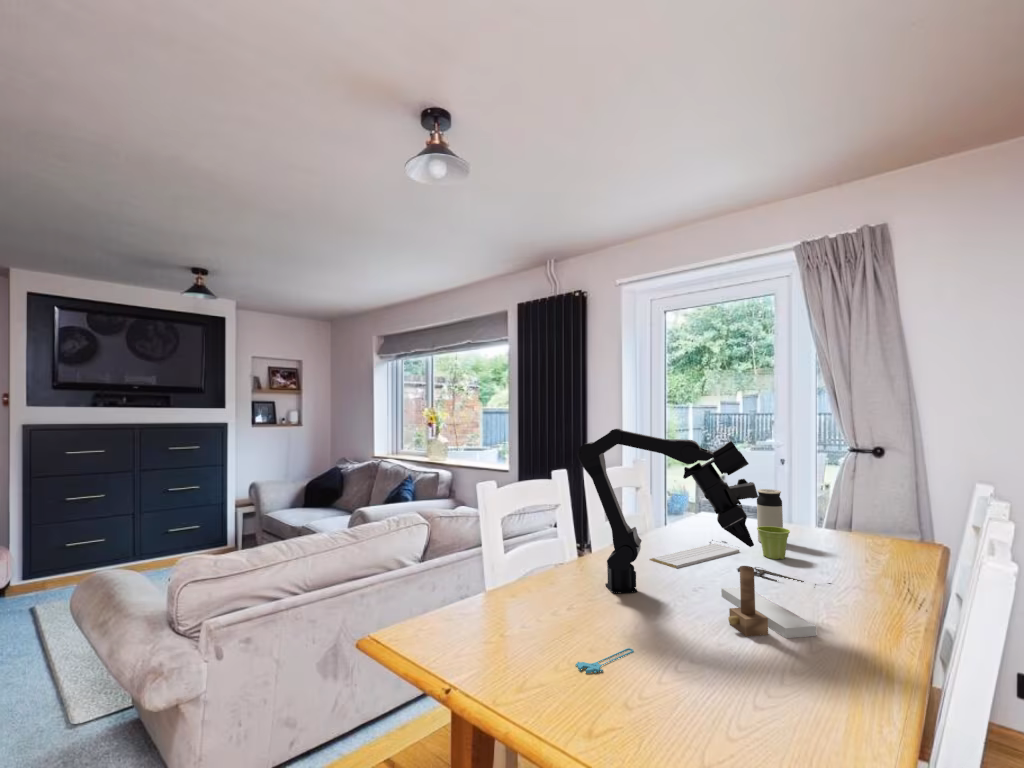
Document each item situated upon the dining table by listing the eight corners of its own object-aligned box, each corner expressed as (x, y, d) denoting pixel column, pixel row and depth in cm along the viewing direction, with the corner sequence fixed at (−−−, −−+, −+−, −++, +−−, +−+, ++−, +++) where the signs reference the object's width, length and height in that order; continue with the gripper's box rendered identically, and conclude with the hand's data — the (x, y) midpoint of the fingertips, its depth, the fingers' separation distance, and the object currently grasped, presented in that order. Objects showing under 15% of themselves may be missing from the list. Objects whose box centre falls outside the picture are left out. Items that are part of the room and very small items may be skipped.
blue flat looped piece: (591, 674, 91) (571, 663, 95) (591, 679, 91) (571, 668, 95) (641, 650, 99) (621, 641, 103) (642, 656, 99) (621, 646, 103)
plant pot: (760, 551, 170) (759, 524, 170) (793, 555, 164) (792, 528, 165) (754, 558, 162) (754, 530, 163) (788, 563, 157) (787, 534, 157)
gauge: (739, 637, 106) (737, 573, 107) (722, 625, 112) (721, 564, 113) (768, 634, 107) (766, 571, 108) (750, 623, 113) (749, 563, 114)
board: (785, 638, 106) (785, 628, 106) (721, 596, 129) (721, 588, 130) (816, 635, 107) (816, 625, 107) (747, 594, 130) (747, 586, 131)
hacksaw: (734, 572, 150) (734, 567, 150) (753, 565, 156) (753, 560, 156) (824, 596, 130) (823, 590, 130) (841, 587, 136) (841, 582, 136)
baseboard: (645, 560, 162) (676, 570, 152) (645, 551, 162) (676, 560, 152) (708, 545, 179) (739, 554, 169) (708, 537, 179) (739, 545, 169)
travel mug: (762, 545, 177) (760, 492, 178) (755, 539, 185) (753, 488, 186) (786, 545, 176) (785, 492, 177) (778, 540, 184) (777, 489, 185)
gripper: (744, 472, 118) (787, 534, 114) (738, 464, 135) (775, 517, 132) (701, 497, 120) (741, 557, 117) (700, 486, 138) (736, 538, 134)
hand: (750, 541), depth 125 cm, fingers open, 9 cm apart
